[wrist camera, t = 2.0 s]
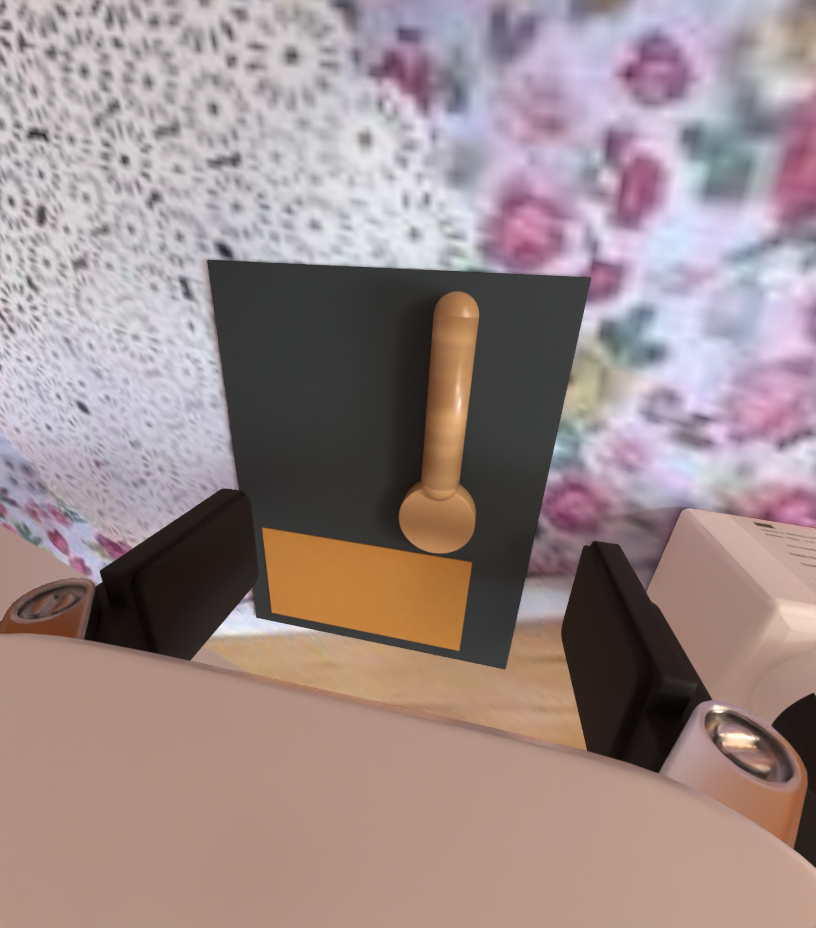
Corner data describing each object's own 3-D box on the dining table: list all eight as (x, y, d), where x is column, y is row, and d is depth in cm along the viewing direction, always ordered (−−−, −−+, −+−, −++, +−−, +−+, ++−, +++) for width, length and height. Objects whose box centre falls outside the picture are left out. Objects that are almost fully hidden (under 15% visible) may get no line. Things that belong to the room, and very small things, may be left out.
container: (770, 637, 23) (1056, 979, 12) (635, 610, 24) (769, 896, 13) (840, 529, 20) (1328, 849, 8) (680, 504, 21) (914, 754, 10)
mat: (209, 260, 21) (206, 259, 21) (590, 277, 18) (591, 277, 18) (257, 615, 32) (255, 618, 31) (505, 667, 28) (505, 670, 28)
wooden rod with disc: (415, 289, 20) (406, 287, 18) (507, 294, 19) (508, 293, 17) (401, 535, 26) (393, 555, 24) (471, 546, 25) (469, 567, 23)
